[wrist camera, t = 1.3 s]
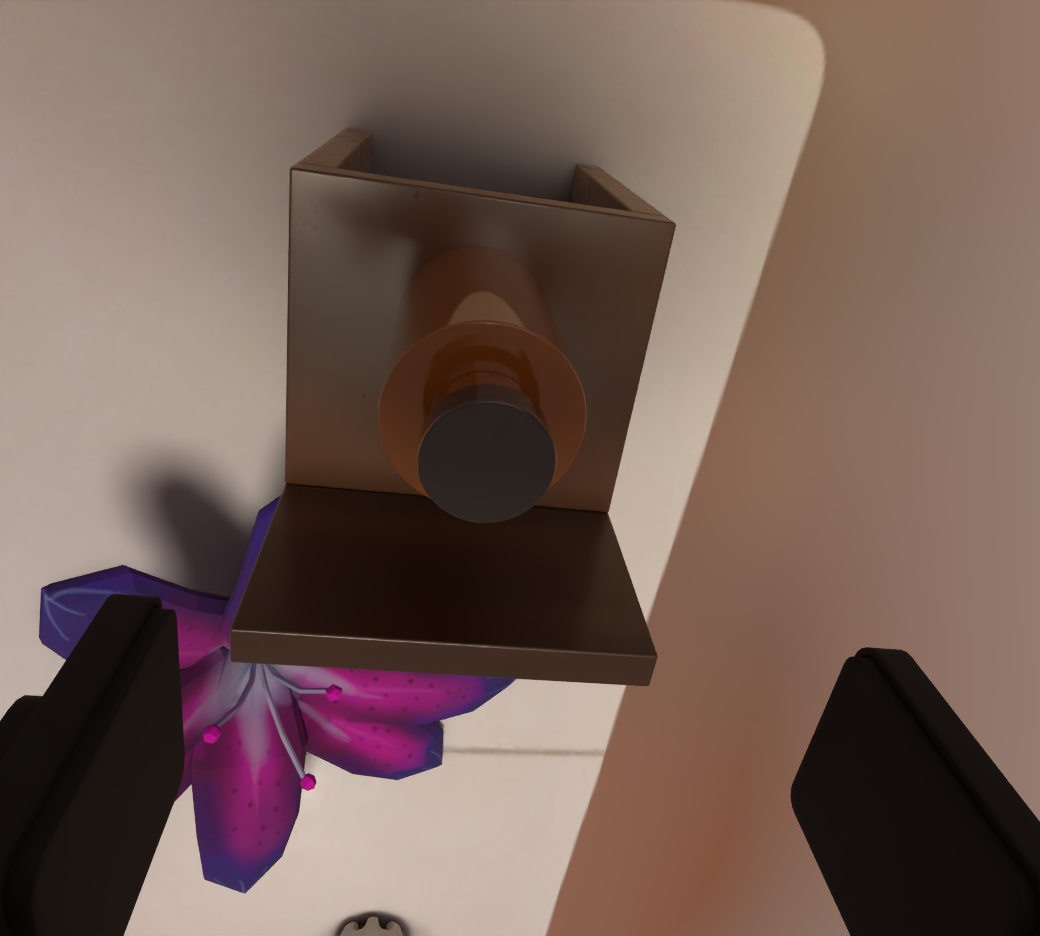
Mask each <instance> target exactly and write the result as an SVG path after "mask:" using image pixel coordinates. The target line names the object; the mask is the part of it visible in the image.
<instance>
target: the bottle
mask: <svg viewBox="0 0 1040 936" xmlns="http://www.w3.org/2000/svg"><path fill="white" fill-rule="evenodd" d="M339 936H405V935H404V934H403V933H402V931H401V928H400V926H399V925H398V924H397V923H396V922H394V921H389V922H388V923H387V925H386V930H385V929H382V928H381V927H380V926H379V922H378V918H377V917H369V918H368V920H367V922H366V925H365V926H364V927H363V928H362V929H360V930H359V925H358V923H357V922H356V921H352V922H350V923H349V924H347V925H346V926H345V928H344V929H343V931H342V933H341V935H339Z"/></svg>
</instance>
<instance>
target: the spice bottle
mask: <svg viewBox="0 0 1040 936" xmlns="http://www.w3.org/2000/svg"><path fill="white" fill-rule="evenodd" d="M378 425H379V432H380V437H381V440H382V444H383V447H384V449H385V452H386V454H387V456H388V458H389V460H390V461H391V463H392V465H393V466H394V468H395V469H396V470H397V472H398V473H399V474H400V475H401V476H402V478H403V479H404V480H405V481H406V482H408V483H409V484H410V485H411V486H412V487H413V488H414V489H416V490H417V491H419V492H420V493H421V494H423V495H425V496H426V497H428V498H430V499H432V500H433V501H434V502H435V503H436V504H437V505H438V506H439V507H440V508H441V509H443V510H444V511H446V512H447V513H449V514H451V515H453V516H455V517H457V518H460V519H463V520H466V521H470V522H477V523H493V522H500V521H505V520H508V519H511V518H514V517H516V516H518V515H521V514H522V513H524V512H526V511H527V510H529V509H530V508H531V507H533V506H534V505H535V504H536V503H537V502H538V501H539V500H540V499H541V498H542V497H543V495H544V494H545V493H546V491H547V490H548V488H549V487H551V486H552V485H553V484H554V483H555V482H556V481H557V480H558V479H559V478H560V477H561V476H562V475H563V474H564V473H565V471H566V470H567V469H568V468H569V466H570V465H571V463H572V462H573V460H574V458H575V457H576V455H577V453H578V450H579V448H580V446H581V443H582V440H583V436H584V433H585V426H586V402H585V395H584V392H583V388H582V385H581V382H580V380H579V377H578V375H577V372H576V370H575V367H574V365H573V362H572V360H571V357H570V355H569V352H568V350H567V347H566V345H565V342H564V340H563V337H562V335H561V332H560V330H559V328H558V325H557V323H556V320H555V318H554V315H553V313H552V310H551V308H550V305H549V303H548V300H547V298H546V295H545V293H544V291H543V289H542V286H541V284H540V283H539V281H538V280H537V278H536V277H535V275H534V274H533V273H532V272H531V271H530V269H529V268H528V267H527V266H525V265H524V264H523V263H522V262H521V261H519V260H518V259H516V258H515V257H514V256H512V255H510V254H508V253H506V252H504V251H501V250H498V249H495V248H491V247H486V246H477V245H470V246H460V247H455V248H451V249H448V250H445V251H443V252H441V253H439V254H437V255H435V256H433V257H432V258H430V259H429V260H427V261H426V262H425V263H423V264H422V265H421V266H420V267H419V268H418V269H417V270H416V271H415V273H414V274H413V275H412V276H411V278H410V279H409V281H408V282H407V284H406V286H405V288H404V290H403V293H402V295H401V299H400V302H399V306H398V311H397V316H396V321H395V326H394V331H393V336H392V341H391V346H390V351H389V356H388V361H387V366H386V371H385V376H384V381H383V386H382V390H381V395H380V401H379V408H378Z"/></svg>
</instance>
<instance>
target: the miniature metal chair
mask: <svg viewBox="0 0 1040 936" xmlns="http://www.w3.org/2000/svg"><path fill="white" fill-rule="evenodd" d="M370 149H371V133H370V132H364V131H358V130H351V129H345V130H344V131H342V132H341V133H339V134H338V135H336V136H335V137H334V138H332V139H331V140H329V141H328V142H327V143H325V144H324V145H322V146H321V147H319V148H318V149H317V150H315V151H314V152H312V153H311V154H310V155H308V156H307V157H305V158H304V159H302V160H301V161H300V162H298V163H296V164H295V165H294V166H292V167H291V168H290V183H289V251H288V318H287V386H286V453H285V482H286V484H285V487H284V489H283V492H282V494H281V497H280V500H279V502H278V505H277V507H276V510H275V513H274V515H273V518H272V521H271V523H270V526H269V528H268V531H267V534H266V536H265V539H264V541H263V544H262V547H261V549H260V552H259V555H258V557H257V560H256V562H255V565H254V568H253V570H252V573H251V575H250V578H249V581H248V583H247V586H246V589H245V591H244V594H243V596H242V599H241V602H240V604H239V607H238V610H237V612H236V615H235V617H234V620H233V623H232V625H231V628H230V654H231V661H232V662H239V663H256V664H273V665H291V666H308V667H325V668H342V669H360V670H377V671H394V672H411V673H428V674H446V675H463V676H480V677H497V678H514V679H532V680H549V681H566V682H583V683H600V684H618V685H636V686H649V684H650V680H651V677H652V674H653V670H654V667H655V664H656V660H657V653H656V650H655V648H654V645H653V642H652V639H651V636H650V633H649V630H648V627H647V624H646V621H645V619H644V616H643V613H642V610H641V607H640V604H639V601H638V598H637V596H636V593H635V590H634V587H633V584H632V581H631V578H630V575H629V573H628V570H627V567H626V564H625V561H624V558H623V555H622V552H621V549H620V547H619V544H618V541H617V538H616V535H615V532H614V529H613V526H612V524H611V521H610V518H609V515H608V511H609V508H610V504H611V499H612V495H613V491H614V487H615V482H616V478H617V474H618V470H619V465H620V461H621V457H622V453H623V448H624V444H625V440H626V436H627V431H628V427H629V423H630V419H631V414H632V410H633V406H634V402H635V397H636V393H637V389H638V385H639V380H640V376H641V372H642V368H643V363H644V359H645V355H646V351H647V346H648V342H649V338H650V334H651V329H652V325H653V321H654V317H655V312H656V308H657V304H658V300H659V295H660V291H661V287H662V283H663V278H664V274H665V270H666V265H667V261H668V257H669V253H670V248H671V244H672V240H673V236H674V231H675V227H676V224H675V223H674V222H673V221H671V220H670V219H669V218H667V217H666V216H664V215H663V214H662V213H660V212H659V211H658V210H656V209H655V208H654V207H652V206H651V205H649V204H648V203H647V202H645V201H644V200H643V199H641V198H640V197H639V196H637V195H636V194H635V193H633V192H632V191H631V190H629V189H628V188H627V187H625V186H624V185H622V184H621V183H620V182H618V181H617V180H616V179H614V178H613V177H612V176H610V175H609V174H608V173H606V172H605V171H604V170H602V169H601V168H598V167H592V166H585V165H577V167H576V173H575V179H574V184H573V190H572V196H571V202H570V203H569V202H562V201H556V200H549V199H542V198H535V197H528V196H521V195H515V194H508V193H501V192H494V191H487V190H480V189H474V188H467V187H460V186H453V185H446V184H439V183H433V182H426V181H419V180H412V179H405V178H399V177H392V176H385V175H378V174H371V173H369V166H370ZM470 245H477V246H486V247H491V248H495V249H498V250H501V251H504V252H506V253H508V254H510V255H512V256H514V257H515V258H516V259H518V260H519V261H521V262H522V263H523V264H524V265H525V266H527V267H528V268H529V269H530V271H531V272H532V273H533V274H534V275H535V277H536V278H537V280H538V281H539V283H540V284H541V286H542V289H543V291H544V293H545V295H546V298H547V300H548V303H549V305H550V308H551V310H552V313H553V315H554V318H555V320H556V323H557V325H558V328H559V330H560V332H561V335H562V337H563V340H564V342H565V345H566V347H567V350H568V352H569V355H570V357H571V360H572V362H573V365H574V367H575V370H576V372H577V375H578V377H579V380H580V382H581V385H582V388H583V392H584V395H585V402H586V426H585V433H584V436H583V440H582V443H581V446H580V448H579V450H578V453H577V455H576V457H575V458H574V460H573V462H572V463H571V465H570V466H569V468H568V469H567V470H566V471H565V473H564V474H563V475H562V476H561V477H560V478H559V479H558V480H557V481H556V482H555V483H554V484H553V485H552V486H551V487H549V488H548V490H547V491H546V493H545V494H544V495H543V497H542V498H541V499H540V500H539V501H538V502H537V503H536V504H535V505H534V506H533V507H531V508H530V509H529V510H527V511H526V512H524V513H522V514H521V515H518V516H516V517H514V518H511V519H508V520H505V521H500V522H493V523H477V522H470V521H466V520H463V519H460V518H457V517H455V516H453V515H451V514H449V513H447V512H446V511H444V510H443V509H441V508H440V507H439V506H438V505H437V504H436V503H435V502H434V501H433V500H432V499H430V498H428V497H426V496H425V495H423V494H421V493H420V492H419V491H417V490H416V489H414V488H413V487H412V486H411V485H410V484H409V483H408V482H406V481H405V480H404V479H403V478H402V476H401V475H400V474H399V473H398V472H397V470H396V469H395V468H394V466H393V465H392V463H391V461H390V460H389V458H388V456H387V454H386V452H385V449H384V447H383V444H382V440H381V437H380V432H379V425H378V408H379V401H380V395H381V390H382V386H383V381H384V376H385V371H386V366H387V361H388V356H389V351H390V346H391V341H392V336H393V331H394V326H395V321H396V316H397V311H398V306H399V302H400V299H401V295H402V293H403V290H404V288H405V286H406V284H407V282H408V281H409V279H410V278H411V276H412V275H413V274H414V273H415V271H416V270H417V269H418V268H419V267H420V266H421V265H422V264H423V263H425V262H426V261H427V260H429V259H430V258H432V257H433V256H435V255H437V254H439V253H441V252H443V251H445V250H448V249H451V248H455V247H460V246H470Z"/></svg>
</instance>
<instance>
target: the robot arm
mask: <svg viewBox="0 0 1040 936" xmlns="http://www.w3.org/2000/svg"><path fill="white" fill-rule="evenodd" d="M184 765H185V747H184V730H183V714H182V697H181V680H180V663H179V646H178V629H177V616H176V612H175V610H173V609H164V608H163V605H162V601H161V599H160V598H159V597H155V596H141V595H127V594H111V595H109V597H108V598H107V599H106V600H105V602H104V603H103V605H102V606H101V608H100V609H99V611H98V612H97V614H96V615H95V617H94V618H93V620H92V621H91V623H90V625H89V626H88V628H87V629H86V631H85V632H84V634H83V635H82V637H81V638H80V640H79V641H78V643H77V645H76V646H75V648H74V649H73V651H72V652H71V654H70V655H69V657H68V658H67V660H66V661H65V663H64V664H63V666H62V668H61V669H60V671H59V672H58V674H57V675H56V677H55V678H54V680H53V681H52V683H51V684H50V686H49V687H48V689H47V691H46V692H45V694H44V695H43V696H29V695H24V696H23V697H21V698H19V699H18V700H16V701H15V702H14V704H13V705H12V706H11V707H10V708H9V709H8V711H7V712H6V714H5V715H4V716H3V718H2V719H1V721H0V936H123V935H124V933H125V930H126V928H127V925H128V922H129V920H130V917H131V914H132V912H133V909H134V906H135V904H136V901H137V899H138V896H139V893H140V891H141V888H142V885H143V883H144V880H145V877H146V875H147V872H148V870H149V867H150V864H151V862H152V859H153V856H154V854H155V851H156V848H157V846H158V843H159V841H160V838H161V835H162V833H163V830H164V827H165V825H166V822H167V819H168V817H169V814H170V811H171V809H172V806H173V804H174V801H175V798H176V796H177V793H178V790H179V788H180V785H181V781H182V777H183V772H184ZM791 803H792V808H793V810H794V813H795V815H796V817H797V820H798V822H799V824H800V826H801V828H802V830H803V833H804V835H805V837H806V839H807V842H808V844H809V846H810V848H811V850H812V853H813V855H814V857H815V859H816V861H817V863H818V866H819V868H820V870H821V872H822V874H823V877H824V879H825V881H826V883H827V885H828V887H829V889H830V892H831V894H832V896H833V898H834V901H835V903H836V905H837V907H838V909H839V911H840V914H841V916H842V918H843V920H844V922H845V925H846V927H847V929H848V931H849V933H850V936H1040V821H1039V820H1038V819H1037V818H1036V816H1035V815H1034V814H1033V812H1032V811H1031V810H1030V809H1029V807H1028V806H1027V805H1026V803H1025V802H1024V801H1023V800H1022V798H1021V797H1020V796H1019V794H1018V793H1017V792H1016V791H1015V789H1014V788H1013V787H1012V785H1011V784H1010V783H1009V782H1008V781H1007V779H1006V778H1005V776H1004V775H1003V774H1002V773H1001V771H1000V770H999V769H998V767H997V766H996V765H995V763H993V761H992V760H991V758H990V757H989V756H988V755H987V753H986V752H985V751H984V749H983V748H982V747H981V746H980V744H979V743H978V742H977V740H976V739H975V738H974V736H973V735H972V734H971V733H970V731H969V730H968V729H967V727H966V726H965V725H964V724H963V722H962V721H961V720H960V718H959V717H958V716H957V715H956V713H955V712H954V711H953V710H952V708H951V707H950V706H949V704H948V703H947V702H946V701H945V699H944V698H943V697H942V695H941V694H940V693H939V691H938V690H937V689H936V688H935V686H934V685H933V684H932V683H931V681H930V680H929V679H928V677H927V676H926V675H925V674H924V672H923V671H922V670H921V668H920V667H919V666H918V665H917V663H916V662H915V661H914V659H913V658H912V657H911V656H910V655H909V654H908V653H907V652H905V651H902V650H896V649H882V648H868V647H867V648H862V649H860V650H859V651H858V652H857V653H856V655H855V656H854V657H849V658H848V659H847V660H846V662H845V663H844V665H843V668H842V670H841V673H840V674H839V677H838V679H837V682H836V684H835V686H834V689H833V691H832V693H831V696H830V698H829V700H828V702H827V705H826V707H825V710H824V712H823V714H822V716H821V719H820V721H819V723H818V726H817V728H816V730H815V733H814V735H813V737H812V740H811V742H810V744H809V747H808V749H807V751H806V753H805V756H804V758H803V760H802V763H801V765H800V767H799V770H798V772H797V774H796V777H795V779H794V781H793V784H792V787H791Z"/></svg>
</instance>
